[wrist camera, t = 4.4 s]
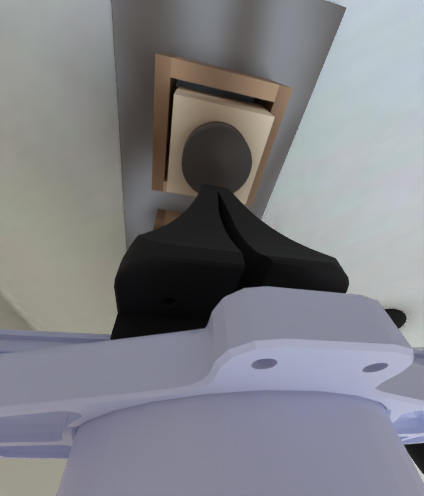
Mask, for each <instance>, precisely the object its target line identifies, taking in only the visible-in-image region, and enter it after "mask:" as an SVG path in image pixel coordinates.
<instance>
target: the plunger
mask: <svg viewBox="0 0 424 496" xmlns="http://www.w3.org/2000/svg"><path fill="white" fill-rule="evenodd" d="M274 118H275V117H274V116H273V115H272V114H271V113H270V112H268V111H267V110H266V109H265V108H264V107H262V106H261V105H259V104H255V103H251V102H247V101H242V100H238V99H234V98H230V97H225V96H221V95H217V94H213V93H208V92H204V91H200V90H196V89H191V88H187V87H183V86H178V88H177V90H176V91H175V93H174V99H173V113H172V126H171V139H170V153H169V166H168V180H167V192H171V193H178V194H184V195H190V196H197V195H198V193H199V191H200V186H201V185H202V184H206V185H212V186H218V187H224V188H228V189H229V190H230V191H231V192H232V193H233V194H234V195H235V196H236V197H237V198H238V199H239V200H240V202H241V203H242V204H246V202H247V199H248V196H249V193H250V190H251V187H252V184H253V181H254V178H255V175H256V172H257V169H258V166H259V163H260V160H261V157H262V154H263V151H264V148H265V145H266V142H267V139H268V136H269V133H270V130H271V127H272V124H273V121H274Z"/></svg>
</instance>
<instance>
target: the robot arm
mask: <svg viewBox="0 0 424 496" xmlns="http://www.w3.org/2000/svg"><path fill="white" fill-rule="evenodd" d="M348 286H349V280H348V277H347V275H346V273H345V272H344V270H343V269H342V267H341V266H340V264H339V263H338V261H337V259H336V258H333V257H331V256H328V255H325V254H323V253H320V252H317V251H315V250H312V249H310V248H308V247H305V246H303V245H301V244H299V243H297V242H295V241H293V240H291V239H289V238H287V237H285V236H284V235H282V234H280V233H279V232H277V231H275V230H274V229H272V228H271V227H269V226H268V225H267V224H265V223H264V222H262V221H261V220H260V219H259V218H257V217H256V216H255V215H254V214H253V213H252V212H251V211H250V210H248V209H247V208H246V207H245V206H244V205H243V204H242V203H241V202H240V200H239V199H238V198H237V197H236V196H235V195H234V194H233V193H232V192H231V191H230V190H229V189H228V188H224V187H218V186H212V185H206V184H202V185H201V186H200V191H199V193H198V195H197V197H196V198H195V200H194V201H193V202H192V204H191V205H190V206H189V207H188V208H187V209H186V210H185V211H184V212H183V213H182V214H181V215H180V216H179V217H177V218H176V219H175V220H173V221H172V222H170V223H169V224H167V225H165V226H163V227H161V228H158V229H156V230H153V231H150V232H147V233H144V234H140V235H138V236H137V237H136V238H135V240H134V241H133V242H132V244H131V245H130V247H129V249H128V250H127V252H126V254H125V256H124V257H123V259H122V261H121V263H120V266H119V269H118V272H117V274H116V277H115V284H114V289H115V296H116V303H117V311H118V314H117V318H116V321H115V324H114V328H113V331H112V334H111V335H106V334H86V333H66V332H46V331H26V330H6V329H0V458H14V459H15V458H16V459H18V458H19V459H68V460H67V463H66V466H65V470H64V473H63V476H62V479H61V482H60V485H59V488H58V491H57V494H56V496H424V483H423V481H422V479H421V477H420V475H419V474H418V471H417V469H416V467H415V466H414V464H413V462H412V460H411V458H410V456H409V454H408V452H407V450H406V448H405V446H404V444H414V443H424V350H413V349H412V347H411V346H410V345H409V343H408V342H407V340H406V339H405V338H404V336H403V335H402V333H401V332H400V331H399V329H398V328H397V326H396V325H395V324H394V322H393V321H392V319H391V318H390V317H389V315H388V314H387V313H386V311H385V310H384V308H383V307H382V306H381V304H380V303H379V301H377V300H374V299H371V298H368V297H365V296H363V295H356V294H346V292H347V289H348Z"/></svg>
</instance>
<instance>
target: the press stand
mask: <svg viewBox="0 0 424 496" xmlns="http://www.w3.org/2000/svg"><path fill="white" fill-rule="evenodd" d="M111 2H112V18H113V34H114V51H115V67H116V83H117V99H118V116H119V132H120V148H121V164H122V180H123V197H124V213H125V229H126V245H127V250H128V249H129V247H130V245H131V244H132V242H133V241H134V240H135V238H136V237H137V236H138V235H140V234H144V233H147V232H150V231H153V230H156V229H158V228H161V227H163V226H165V225H167V224H169V223H170V222H172V221H173V220H175V219H176V218H177V217H179V216H180V215H181V214H182V213H183V212H184V211H185V210H186V209H187V208H188V207H189V206H190V205H191V204H192V202H193V201H194V200H195V198H196V197H197V196H190V195H184V194H178V193H171V192H167V180H168V166H169V153H170V139H171V126H172V113H173V99H174V93H175V91H176V90H177V88H178V86H183V87H187V88H191V89H196V90H200V91H204V92H208V93H213V94H217V95H221V96H225V97H230V98H234V99H238V100H242V101H247V102H251V103H255V104H259V105H261V106H262V107H264V108H265V109H266V110H267V111H268V112H270V113H271V114H272V115H273V116H274V117H275V118H274V121H273V124H272V127H271V130H270V133H269V136H268V139H267V142H266V145H265V148H264V151H263V154H262V157H261V160H260V163H259V166H258V169H257V172H256V175H255V178H254V181H253V184H252V187H251V190H250V193H249V196H248V199H247V202H246V204H243V205H244V206H245V207H246V208H247V209H248V210H250V211H251V212H252V213H253V214H254V215H255V216H256V217H257V218H259V219H260V220H261V218H262V216H263V213H264V211H265V208H266V206H267V203H268V201H269V198H270V196H271V193H272V191H273V188H274V186H275V183H276V181H277V178H278V176H279V174H280V171H281V169H282V166H283V164H284V161H285V159H286V156H287V154H288V151H289V149H290V146H291V144H292V141H293V139H294V136H295V134H296V131H297V129H298V127H299V124H300V122H301V119H302V117H303V114H304V112H305V109H306V107H307V104H308V102H309V99H310V97H311V94H312V92H313V89H314V87H315V84H316V82H317V80H318V77H319V75H320V72H321V70H322V67H323V65H324V62H325V60H326V57H327V55H328V52H329V50H330V47H331V45H332V42H333V40H334V37H335V35H336V33H337V30H338V28H339V25H340V23H341V20H342V18H343V15H344V13H345V10H346V7H343V6H340V5H337V4H334V3H331V2H328V1H325V0H111Z"/></svg>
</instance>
